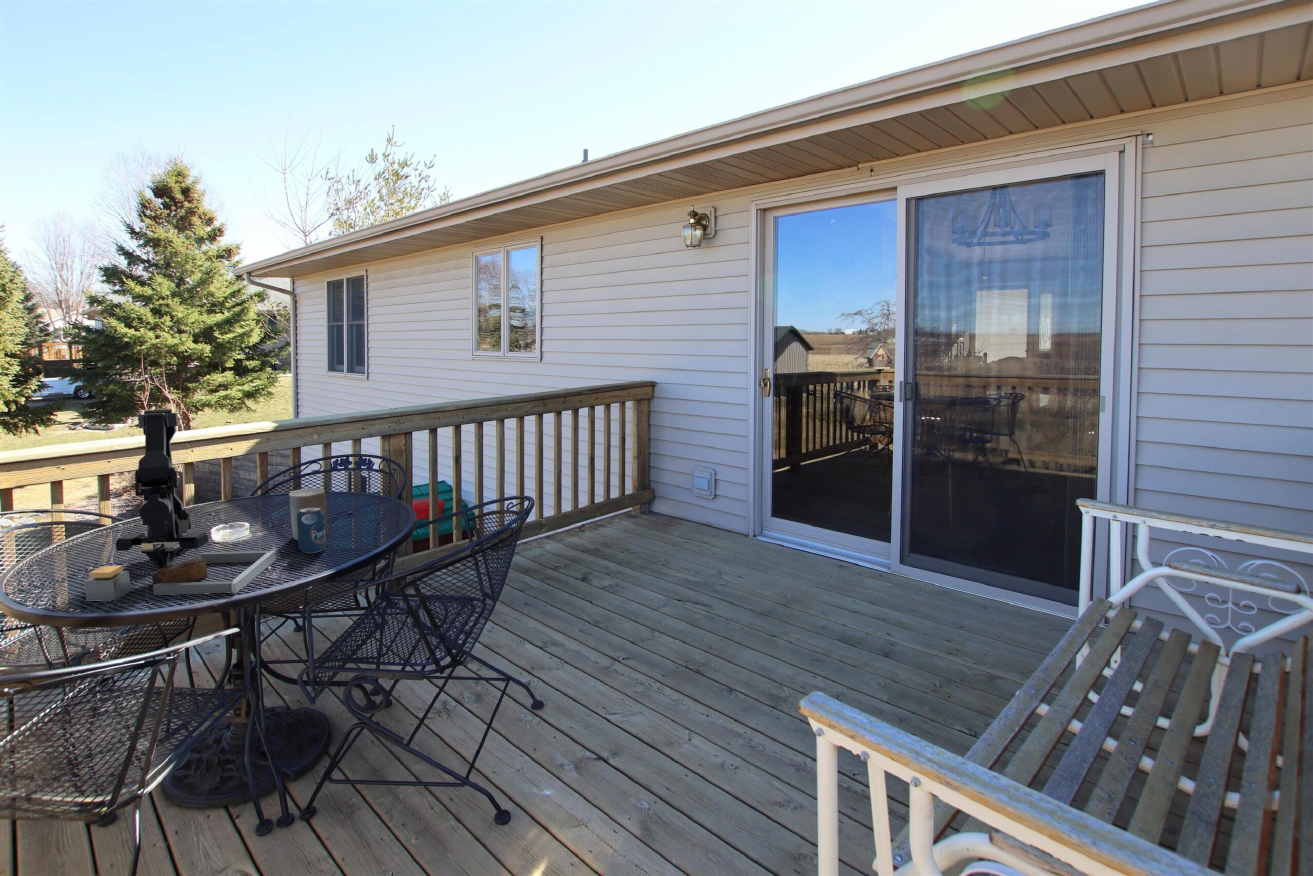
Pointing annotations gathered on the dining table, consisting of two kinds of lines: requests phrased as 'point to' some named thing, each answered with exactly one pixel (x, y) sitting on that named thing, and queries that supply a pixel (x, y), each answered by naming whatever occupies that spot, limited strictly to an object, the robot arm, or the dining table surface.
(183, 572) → the brown wedge block
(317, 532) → the soda can
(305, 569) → the dining table surface
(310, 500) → the pillar candle
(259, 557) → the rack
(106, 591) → the box
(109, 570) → the button
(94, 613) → the dining table surface
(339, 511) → the dining table surface
